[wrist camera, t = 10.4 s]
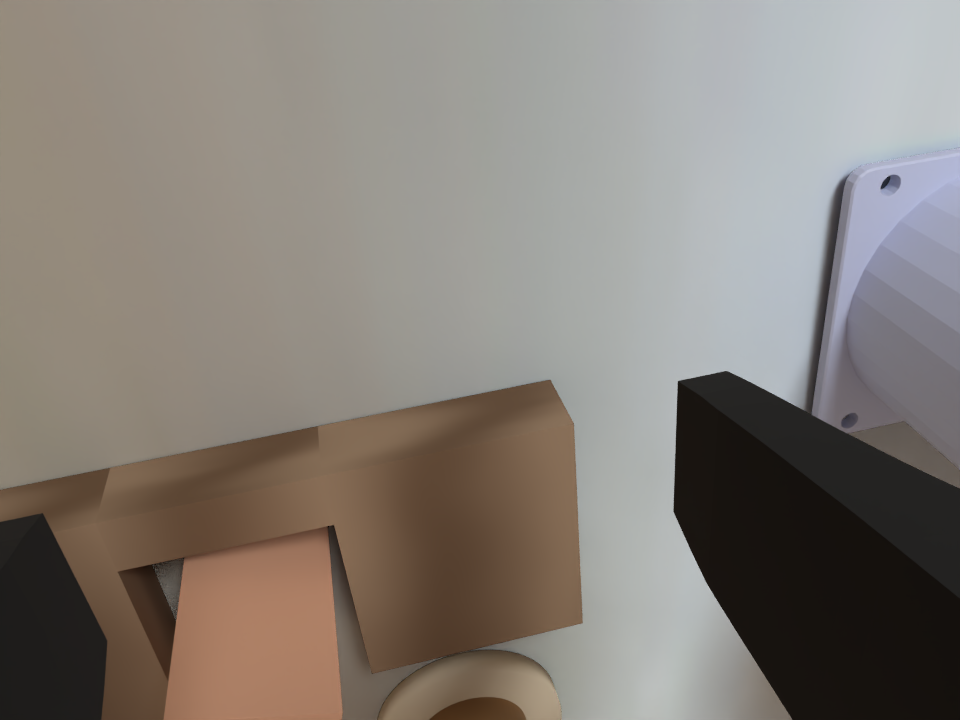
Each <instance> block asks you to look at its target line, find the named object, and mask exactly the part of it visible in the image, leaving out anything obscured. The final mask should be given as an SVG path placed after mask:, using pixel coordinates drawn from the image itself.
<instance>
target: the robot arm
mask: <svg viewBox="0 0 960 720" xmlns="http://www.w3.org/2000/svg"><path fill="white" fill-rule="evenodd" d="M888 176H891V179H890V181H889V183H888V185H887V186H886V187H885V188H883V189H881V185H882V182H883V181H884V180H885V179H886V178H887V177H888ZM848 414H849V415H848ZM846 415H848V416H847V417H846V418H845V419H843V418H844V417H845V416H846ZM842 419H843V420H842ZM902 421H905V422H906V423H907V424H909V425H910V426H911V427H912V428H913V429H914V430H915V431H916V432H918V433H919V434H920V435H921V436H922V437H923V438H924V439H926V440H927V441H928V442H929V443H930V444H931V445H932V446H933V447H935V448H936V449H937V450H938V451H939V452H940V453H941V454H943V455H944V456H945V457H946V458H947V459H948V460H949V461H950V462H952V463H953V464H954V465H955V466H956V467H957V468H958V469H959V470H960V148H955V149H949V150H943V151H937V152H932V153H926V154H920V155H914V156H909V157H903V158H897V159H892V160H886V161H880V162H874V163H869V164H865V165H862V166H859V167H858V168H856V169H855V170H854V171H853V172H852V173H851V174H850V175H849V177H848V178H847V180H846V183H845V186H844V191H843V198H842V205H841V212H840V219H839V226H838V233H837V240H836V247H835V254H834V261H833V268H832V275H831V282H830V289H829V296H828V303H827V310H826V317H825V324H824V331H823V338H822V344H821V351H820V358H819V365H818V372H817V379H816V386H815V393H814V400H813V407H812V414H809V413H807V412H806V411H804V410H802V409H800V408H798V407H796V406H794V405H792V404H791V403H789V402H787V401H785V400H783V399H781V398H779V397H777V396H776V395H774V394H772V393H770V392H768V391H766V390H764V389H762V388H760V387H758V386H756V385H754V384H753V383H751V382H749V381H747V380H745V379H743V378H740V377H738V376H736V375H734V374H732V373H730V372H727V371H724V372H720V373H715V374H710V375H705V376H700V377H696V378H691V379H686V380H681V381H678V395H677V424H676V454H675V484H674V514H675V516H676V518H677V520H678V522H679V525H680V527H681V529H682V531H683V534H684V536H685V538H686V540H687V543H688V545H689V547H690V549H691V551H692V553H693V556H694V558H695V560H696V562H697V564H698V566H699V568H700V570H701V572H702V574H703V576H704V578H705V580H706V583H707V584H708V586H709V588H710V589H711V591H712V593H713V594H714V596H715V598H716V599H717V601H718V602H719V604H720V606H721V607H722V609H723V610H724V612H725V614H726V615H727V617H728V618H729V620H730V622H731V623H732V625H733V626H734V628H735V630H736V631H737V633H738V634H739V636H740V638H741V639H742V641H743V642H744V644H745V646H746V647H747V649H748V650H749V652H750V653H751V655H752V657H753V658H754V660H755V661H756V663H757V664H758V666H759V668H760V669H761V671H762V672H763V674H764V675H765V677H766V679H767V680H768V682H769V683H770V685H771V686H772V688H773V690H774V691H775V693H776V694H777V696H778V697H779V699H780V701H781V702H782V704H783V705H784V707H785V708H786V710H787V712H788V713H789V715H790V716H791V718H792V719H793V720H960V489H959V488H957V487H955V486H953V485H951V484H948V483H946V482H944V481H942V480H939V479H937V478H935V477H933V476H931V475H929V474H927V473H925V472H923V471H921V470H919V469H917V468H914V467H912V466H910V465H908V464H906V463H904V462H902V461H900V460H898V459H896V458H894V457H892V456H890V455H888V454H886V453H884V452H882V451H880V450H878V449H876V448H874V447H872V446H870V445H868V444H866V443H864V442H863V441H861V440H859V439H857V438H855V437H853V436H851V435H849V434H848V433H852V432H857V431H861V430H866V429H871V428H875V427H880V426H884V425H889V424H893V423H898V422H902ZM106 656H107V639H106V637H105V635H104V633H103V631H102V629H101V627H100V625H99V623H98V621H97V619H96V617H95V615H94V613H93V611H92V609H91V607H90V605H89V603H88V601H87V599H86V597H85V595H84V593H83V591H82V589H81V587H80V585H79V584H78V582H77V580H76V578H75V576H74V574H73V572H72V570H71V568H70V566H69V564H68V562H67V560H66V558H65V556H64V554H63V552H62V550H61V548H60V546H59V544H58V542H57V540H56V538H55V536H54V534H53V532H52V530H51V528H50V526H49V524H48V522H47V520H46V518H45V516H44V514H43V513H41V514H36V515H31V516H26V517H21V518H17V519H12V520H7V521H2V522H0V720H101V718H102V707H103V697H104V686H105V671H106Z"/></svg>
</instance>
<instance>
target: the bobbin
mask: <svg viewBox="0 0 960 720" xmlns="http://www.w3.org/2000/svg"><path fill="white" fill-rule="evenodd" d="M561 713H562V711H561V706H560V702H559V699H558V696H557V693H556V690H555V688H554V685H553V682H552V680H551V677H550V676H549V674H548V673H547V671H546V670H545V669H544V668H543V667H542V666H541V665H540V664H538V663H537V662H535V661H534V660H532V659H530V658H528V657H526V656H523V655H520V654H517V653H513V652H508V651H500V650H478V651H469V652H464V653H459V654H455V655H452V656H448V657H445V658H442V659H440V660H437V661H435V662H432V663H430V664H428V665H426V666H424V667H422V668H421V669H419V670H417V671H416V672H414V673H412V674H411V675H410V676H408V677H407V678H406V679H404V680H403V681H402V682H401V683H400V684H399V685H398V686H397V687H396V688H395V689H394V690H393V691H392V692H391V693H390V695H389V696H388V697H387V699H386V700H385V702H384V704H383V706H382V708H381V710H380V713H379V716H378V720H561Z"/></svg>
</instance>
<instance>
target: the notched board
mask: <svg viewBox="0 0 960 720" xmlns="http://www.w3.org/2000/svg"><path fill="white" fill-rule="evenodd" d="M41 513H43V514H44V516H45V518H46V520H47V522H48V524H49V526H50V528H51V530H52V532H53V534H54V536H55V538H56V540H57V542H58V544H59V546H60V548H61V550H62V552H63V554H64V556H65V558H66V560H67V562H68V564H69V566H70V568H71V570H72V572H73V574H74V576H75V578H76V580H77V582H78V584H79V585H80V587H81V589H82V591H83V593H84V595H85V597H86V599H87V601H88V603H89V605H90V607H91V609H92V611H93V613H94V615H95V617H96V619H97V621H98V623H99V625H100V627H101V629H102V631H103V633H104V635H105V637H106V639H107V656H106V671H105V686H104V697H103V707H102V718H101V720H164V712H165V704H166V696H167V689H168V681H169V673H170V666H171V658H172V650H173V642H174V635H175V627H176V621H175V618H174V616H173V614H172V611H171V609H170V607H169V604H168V602H167V600H166V597H165V595H164V593H163V590H162V588H161V586H160V583H159V581H158V579H157V576H156V574H155V572H154V569H153V567H152V565H151V564H155V563H160V562H164V561H169V560H174V559H178V558H183V557H188V556H192V555H197V554H201V553H206V552H211V551H215V550H220V549H225V548H229V547H234V546H238V545H243V544H248V543H252V542H257V541H262V540H266V539H271V538H275V537H280V536H285V535H289V534H294V533H298V532H303V531H308V530H312V529H317V528H322V527H326V526H331V525H334V527H335V531H336V535H337V539H338V543H339V546H340V550H341V554H342V558H343V562H344V566H345V570H346V574H347V578H348V582H349V586H350V590H351V594H352V598H353V601H354V605H355V609H356V613H357V617H358V621H359V625H360V629H361V633H362V637H363V641H364V645H365V649H366V653H367V656H368V660H369V664H370V668H371V672H372V674H373V673H377V672H381V671H386V670H390V669H394V668H398V667H402V666H406V665H410V664H415V663H419V662H423V661H427V660H431V659H435V658H440V657H444V656H448V655H452V654H456V653H460V652H464V651H469V650H473V649H477V648H481V647H485V646H489V645H494V644H498V643H502V642H506V641H510V640H514V639H518V638H523V637H527V636H531V635H535V634H539V633H543V632H548V631H552V630H556V629H560V628H564V627H568V626H572V625H577V624H581V623H583V621H582V599H581V576H580V553H579V530H578V508H577V485H576V462H575V439H574V423H573V421H572V419H571V418H570V416H569V414H568V412H567V410H566V408H565V406H564V404H563V403H562V401H561V399H560V397H559V395H558V393H557V391H556V390H555V388H554V386H553V384H552V382H551V380H546V381H541V382H536V383H531V384H526V385H521V386H516V387H512V388H507V389H502V390H497V391H492V392H487V393H482V394H477V395H472V396H467V397H462V398H457V399H452V400H447V401H442V402H437V403H432V404H427V405H422V406H417V407H412V408H407V409H402V410H397V411H392V412H387V413H382V414H377V415H372V416H367V417H362V418H357V419H352V420H347V421H342V422H337V423H332V424H327V425H322V426H317V427H312V428H307V429H302V430H297V431H292V432H287V433H282V434H277V435H272V436H267V437H262V438H257V439H252V440H247V441H242V442H237V443H232V444H227V445H222V446H217V447H212V448H207V449H202V450H197V451H192V452H187V453H182V454H177V455H172V456H167V457H162V458H157V459H152V460H147V461H142V462H137V463H132V464H127V465H122V466H117V467H112V468H108V469H103V470H98V471H93V472H88V473H83V474H78V475H73V476H68V477H63V478H58V479H53V480H48V481H43V482H38V483H33V484H28V485H23V486H18V487H13V488H8V489H3V490H0V522H2V521H7V520H12V519H17V518H21V517H26V516H31V515H36V514H41Z"/></svg>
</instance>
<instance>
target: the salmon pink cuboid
mask: <svg viewBox="0 0 960 720" xmlns="http://www.w3.org/2000/svg"><path fill="white" fill-rule="evenodd" d="M342 714H343V710H342V698H341V685H340V673H339V661H338V648H337V636H336V623H335V611H334V599H333V586H332V574H331V562H330V549H329V537H328V526H326V527H322V528H317V529H312V530H308V531H303V532H298V533H294V534H289V535H285V536H280V537H275V538H271V539H266V540H262V541H257V542H252V543H248V544H243V545H238V546H234V547H229V548H225V549H220V550H215V551H211V552H206V553H201V554H197V555H192V556H188V557H184V565H183V573H182V581H181V588H180V596H179V604H178V612H177V619H176V627H175V635H174V642H173V650H172V658H171V666H170V673H169V681H168V689H167V696H166V704H165V712H164V720H342Z"/></svg>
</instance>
